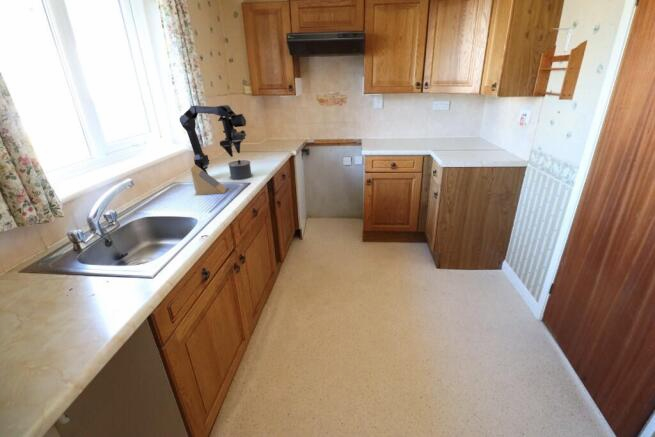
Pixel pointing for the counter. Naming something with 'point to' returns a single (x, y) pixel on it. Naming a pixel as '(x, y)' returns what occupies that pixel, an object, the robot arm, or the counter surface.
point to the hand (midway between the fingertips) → (235, 154)
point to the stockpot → (240, 169)
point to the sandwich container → (205, 182)
